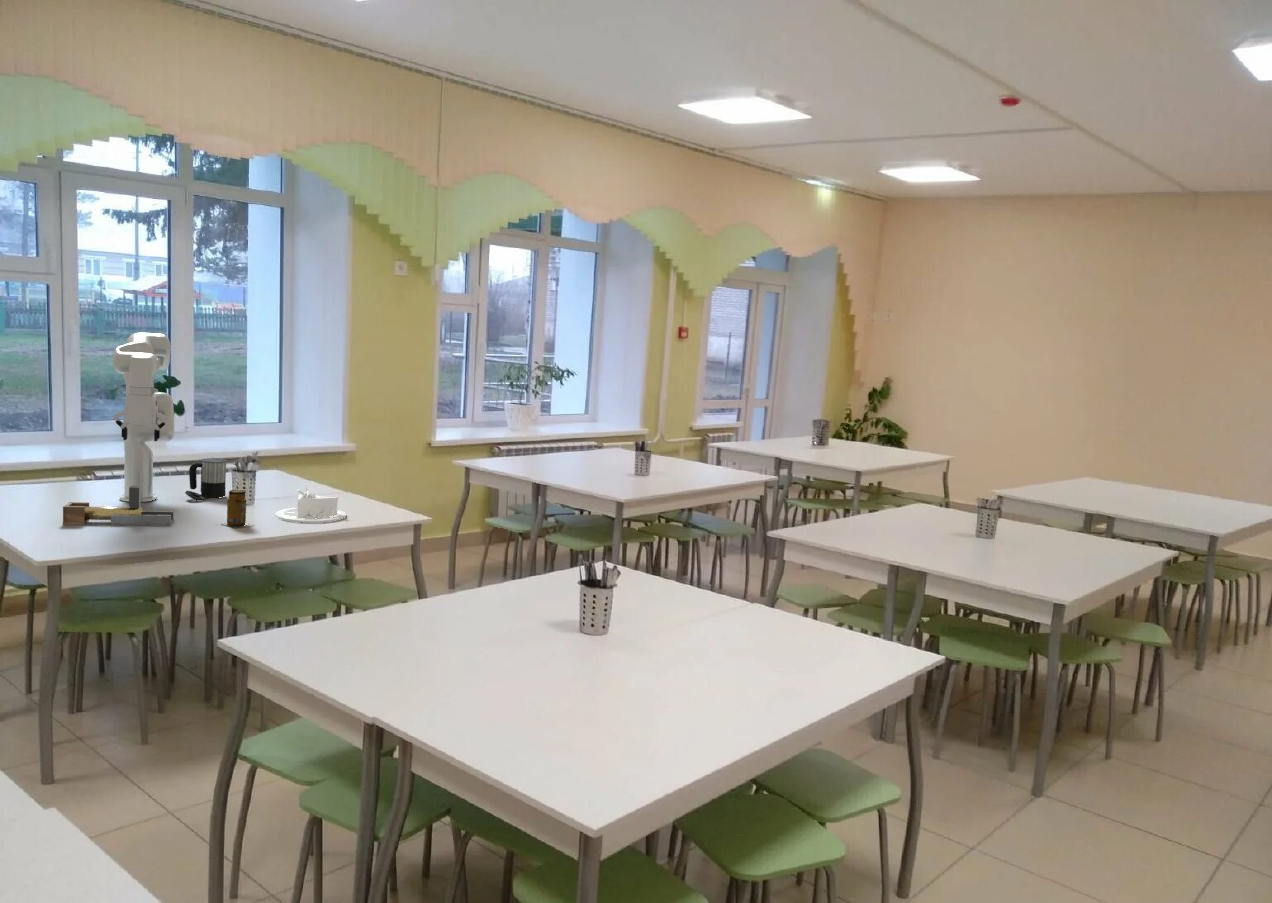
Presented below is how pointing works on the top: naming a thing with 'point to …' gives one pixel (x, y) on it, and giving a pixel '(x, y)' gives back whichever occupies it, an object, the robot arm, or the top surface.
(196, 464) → the milk frother
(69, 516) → the socket
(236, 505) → the condiment
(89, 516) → the bolt
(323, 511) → the dish
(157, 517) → the channel
